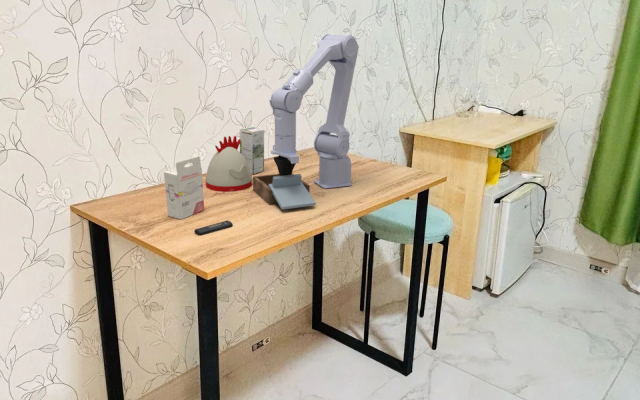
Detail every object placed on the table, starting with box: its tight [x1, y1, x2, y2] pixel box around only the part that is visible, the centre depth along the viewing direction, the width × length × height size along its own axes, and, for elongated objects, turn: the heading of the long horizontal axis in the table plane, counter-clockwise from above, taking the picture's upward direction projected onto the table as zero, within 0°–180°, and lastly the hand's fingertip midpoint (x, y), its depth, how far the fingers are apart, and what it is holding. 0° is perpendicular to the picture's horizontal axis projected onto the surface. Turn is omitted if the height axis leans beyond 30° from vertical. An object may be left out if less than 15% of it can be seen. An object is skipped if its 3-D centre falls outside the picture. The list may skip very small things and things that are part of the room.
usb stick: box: [193, 220, 234, 236], centre depth 124 cm, size 10×3×2 cm, turn 132°
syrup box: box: [239, 126, 265, 176], centre depth 169 cm, size 6×6×14 cm
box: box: [252, 173, 311, 206], centre depth 149 cm, size 14×12×4 cm
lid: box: [268, 173, 316, 210], centre depth 140 cm, size 11×10×4 cm
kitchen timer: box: [205, 135, 253, 193], centre depth 156 cm, size 14×14×15 cm
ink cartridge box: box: [163, 155, 205, 220], centre depth 132 cm, size 9×5×15 cm, turn 148°
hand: (285, 182), depth 145 cm, fingers closed
